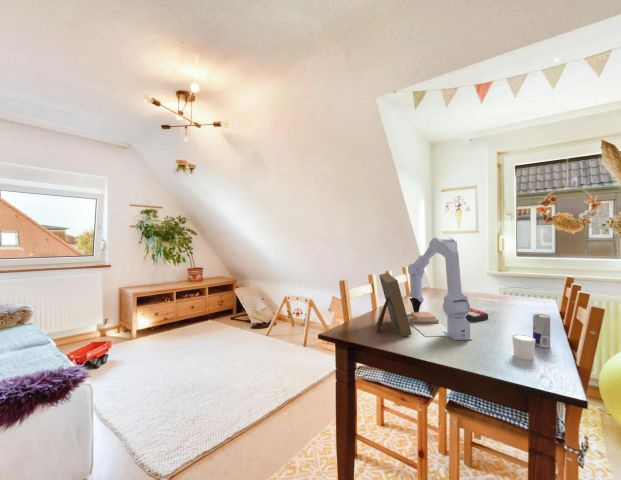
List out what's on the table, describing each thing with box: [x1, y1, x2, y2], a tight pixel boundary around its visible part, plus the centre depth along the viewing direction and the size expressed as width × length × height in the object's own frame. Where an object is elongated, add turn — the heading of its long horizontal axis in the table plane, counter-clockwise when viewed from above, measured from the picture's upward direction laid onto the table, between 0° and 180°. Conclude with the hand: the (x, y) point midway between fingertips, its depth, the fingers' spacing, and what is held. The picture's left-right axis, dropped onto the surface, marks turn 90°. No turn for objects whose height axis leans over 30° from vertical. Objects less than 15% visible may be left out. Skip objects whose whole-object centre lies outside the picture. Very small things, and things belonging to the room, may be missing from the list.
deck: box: [406, 311, 440, 325], centre depth 150 cm, size 15×13×2 cm
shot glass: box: [511, 334, 536, 361], centre depth 105 cm, size 7×7×7 cm
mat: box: [411, 323, 449, 338], centre depth 134 cm, size 16×14×1 cm
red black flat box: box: [466, 307, 489, 323], centre depth 153 cm, size 11×4×15 cm
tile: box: [410, 311, 436, 321], centre depth 146 cm, size 8×9×2 cm
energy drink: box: [532, 313, 551, 349], centre depth 114 cm, size 5×5×12 cm
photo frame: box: [375, 272, 413, 338], centre depth 137 cm, size 15×22×25 cm
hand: (416, 312), depth 155 cm, fingers closed
